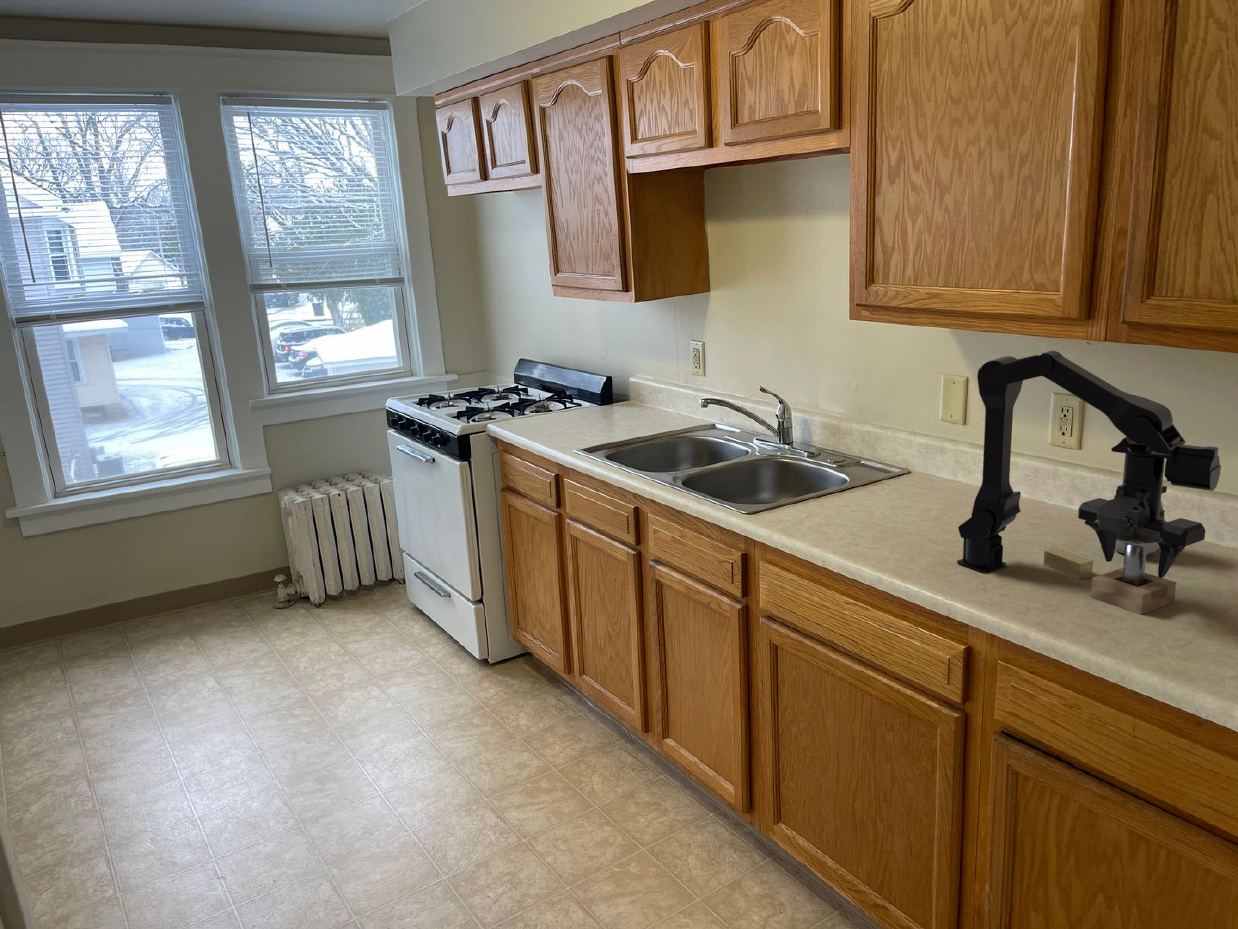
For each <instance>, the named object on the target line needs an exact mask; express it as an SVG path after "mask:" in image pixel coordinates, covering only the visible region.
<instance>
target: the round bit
mask: <svg viewBox="0 0 1238 929" xmlns="http://www.w3.org/2000/svg"><path fill="white" fill-rule="evenodd" d="M1146 553H1147V544H1146V543H1143V542H1140V541H1127V542H1126V543H1125V553H1124V555H1123V564H1122V566H1123V567H1122V568H1123V576H1122V582H1124V583H1127V584H1130V585H1133V586H1136V587H1140V586H1143V585H1144V574H1145V573H1146V564H1147V562H1146V561H1147V555H1146Z"/></svg>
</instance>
